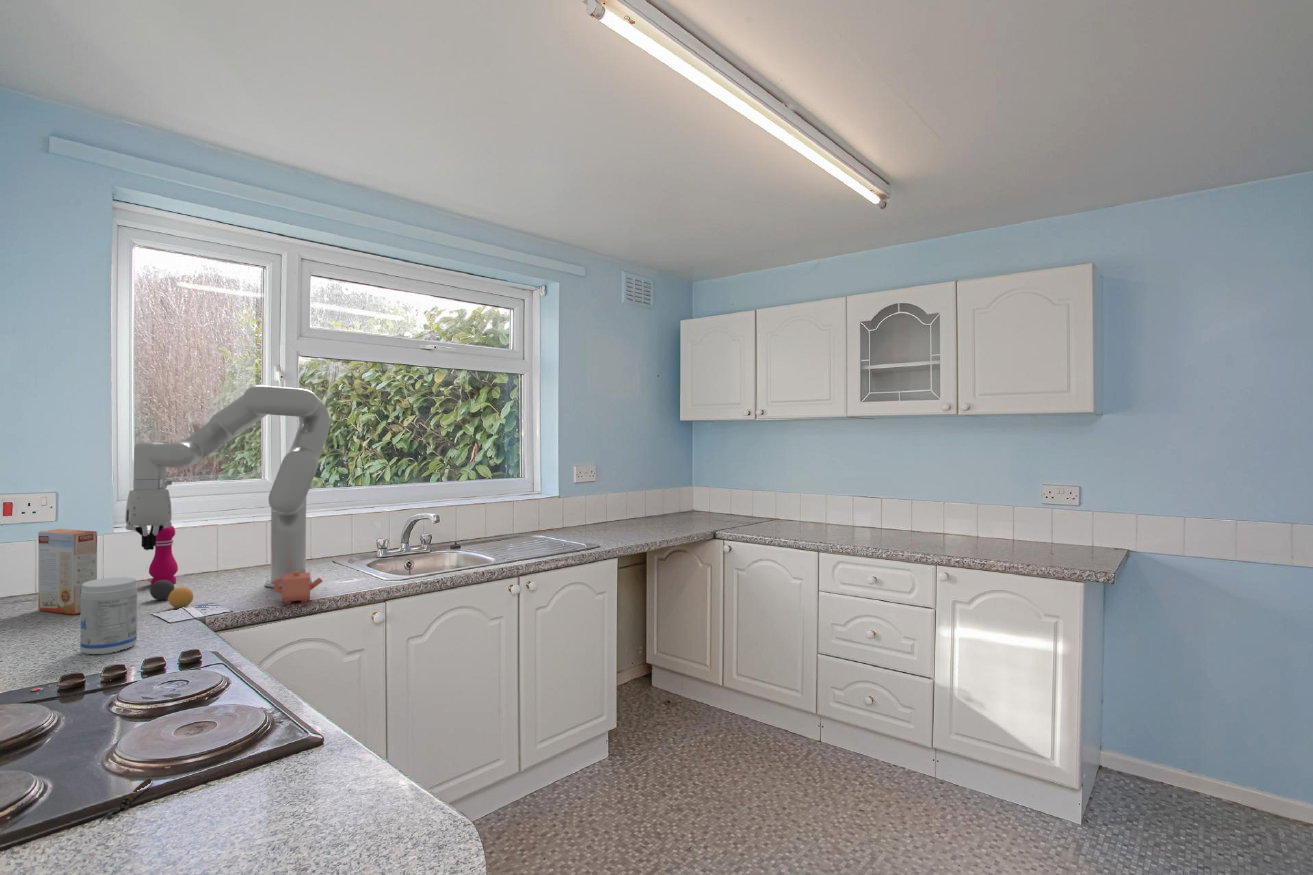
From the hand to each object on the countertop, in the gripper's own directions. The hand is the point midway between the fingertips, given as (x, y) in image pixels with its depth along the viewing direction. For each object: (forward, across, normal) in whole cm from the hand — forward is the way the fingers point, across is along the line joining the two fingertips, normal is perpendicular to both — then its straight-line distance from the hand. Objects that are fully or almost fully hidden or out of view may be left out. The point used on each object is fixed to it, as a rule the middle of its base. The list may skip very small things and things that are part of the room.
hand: (148, 549), depth 196 cm
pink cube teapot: (+13, -24, +40) cm, 48 cm away
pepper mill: (+13, -8, -13) cm, 20 cm away
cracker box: (+14, +18, +4) cm, 23 cm away
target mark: (+13, -1, +32) cm, 34 cm away
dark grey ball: (+10, -1, +10) cm, 14 cm away
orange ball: (+10, -1, +24) cm, 26 cm away
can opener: (+13, +38, +128) cm, 135 cm away
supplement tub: (+13, +21, +51) cm, 57 cm away
